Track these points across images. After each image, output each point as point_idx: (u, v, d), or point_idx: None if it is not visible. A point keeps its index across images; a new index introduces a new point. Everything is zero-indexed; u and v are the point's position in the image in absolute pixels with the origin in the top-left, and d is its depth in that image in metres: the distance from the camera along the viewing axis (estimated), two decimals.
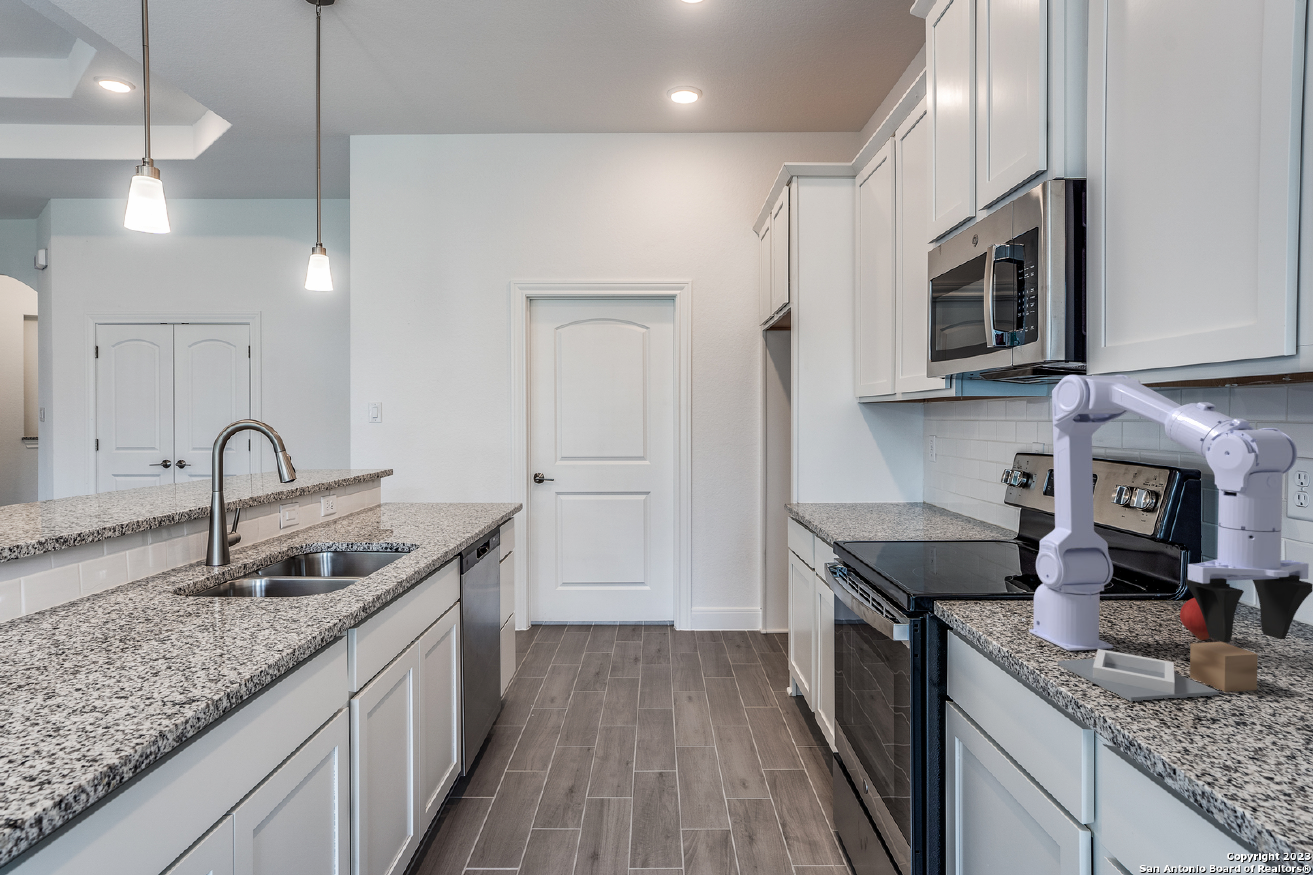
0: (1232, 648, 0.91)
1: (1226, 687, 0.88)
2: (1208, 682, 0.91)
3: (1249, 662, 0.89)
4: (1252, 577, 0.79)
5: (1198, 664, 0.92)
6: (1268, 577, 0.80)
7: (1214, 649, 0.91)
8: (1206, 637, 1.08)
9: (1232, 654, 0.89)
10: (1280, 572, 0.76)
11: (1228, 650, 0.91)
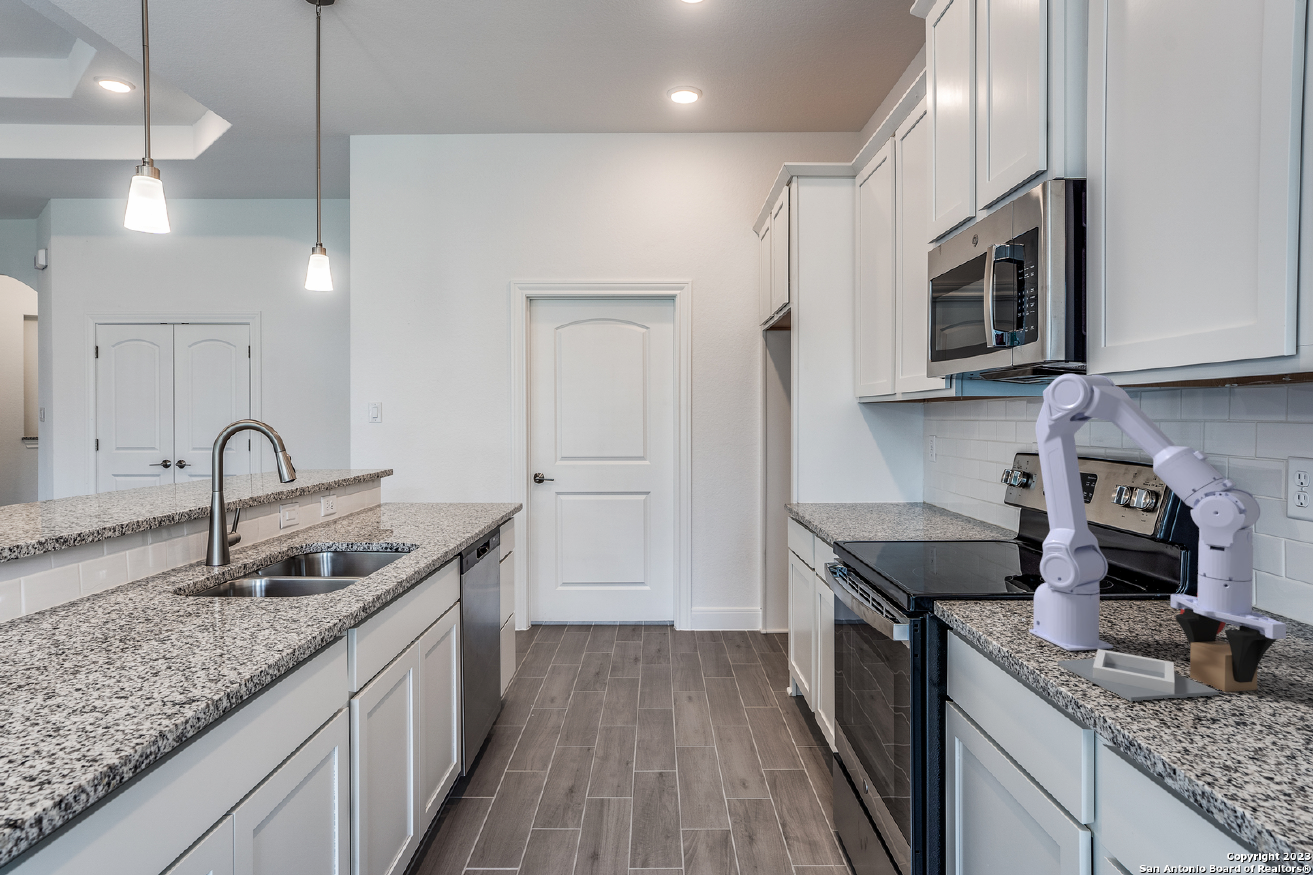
0: None
1: (1226, 686, 0.88)
2: (1208, 681, 0.91)
3: None
4: (1223, 619, 0.91)
5: (1198, 664, 0.92)
6: (1239, 625, 0.88)
7: (1214, 648, 0.91)
8: None
9: None
10: (1196, 609, 0.91)
11: (1228, 649, 0.91)
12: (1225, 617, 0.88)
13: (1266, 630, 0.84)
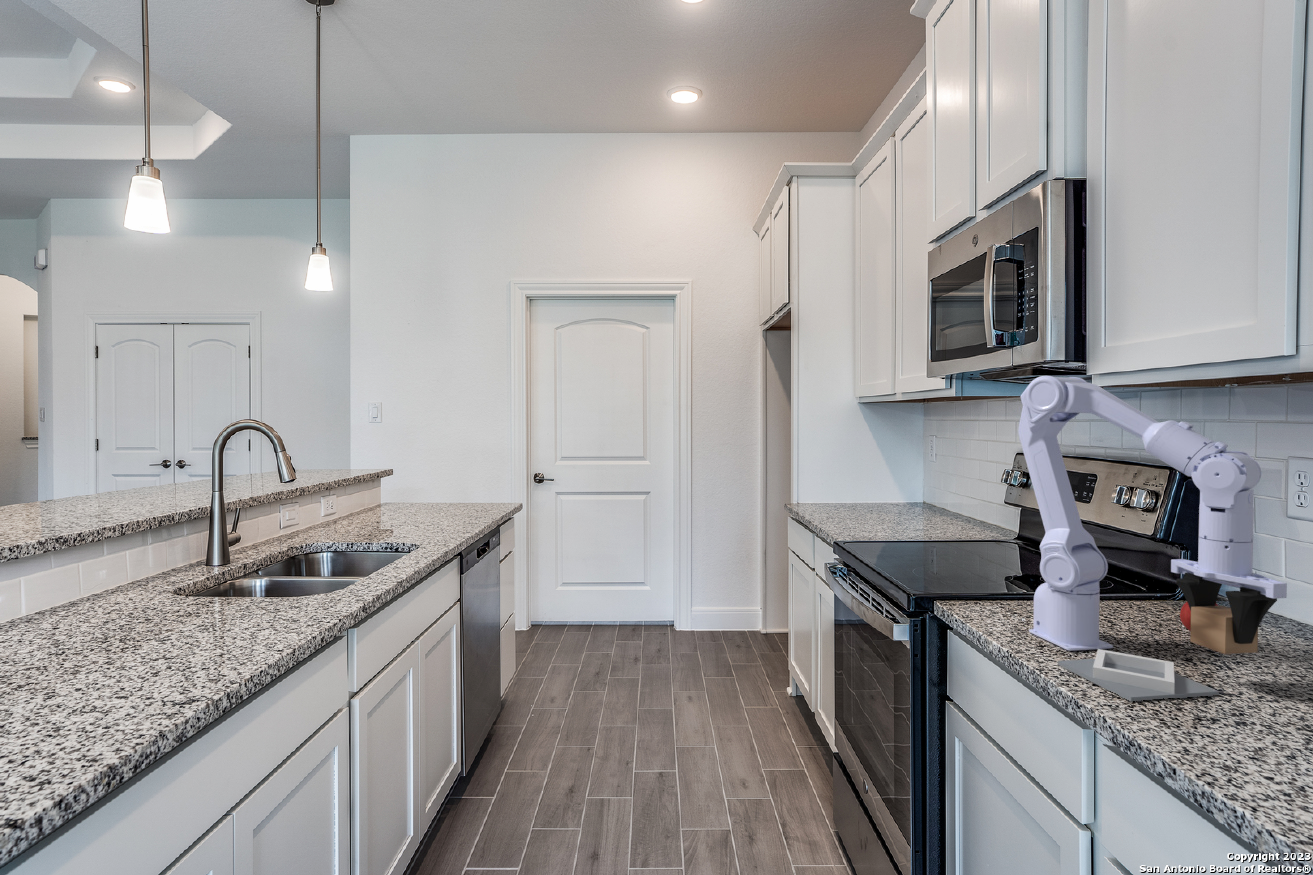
0: None
1: (1227, 649, 0.88)
2: (1209, 644, 0.91)
3: None
4: (1223, 582, 0.91)
5: (1198, 627, 0.92)
6: (1240, 587, 0.88)
7: (1214, 611, 0.91)
8: None
9: None
10: (1196, 571, 0.91)
11: (1228, 612, 0.90)
12: (1226, 578, 0.88)
13: (1267, 590, 0.84)
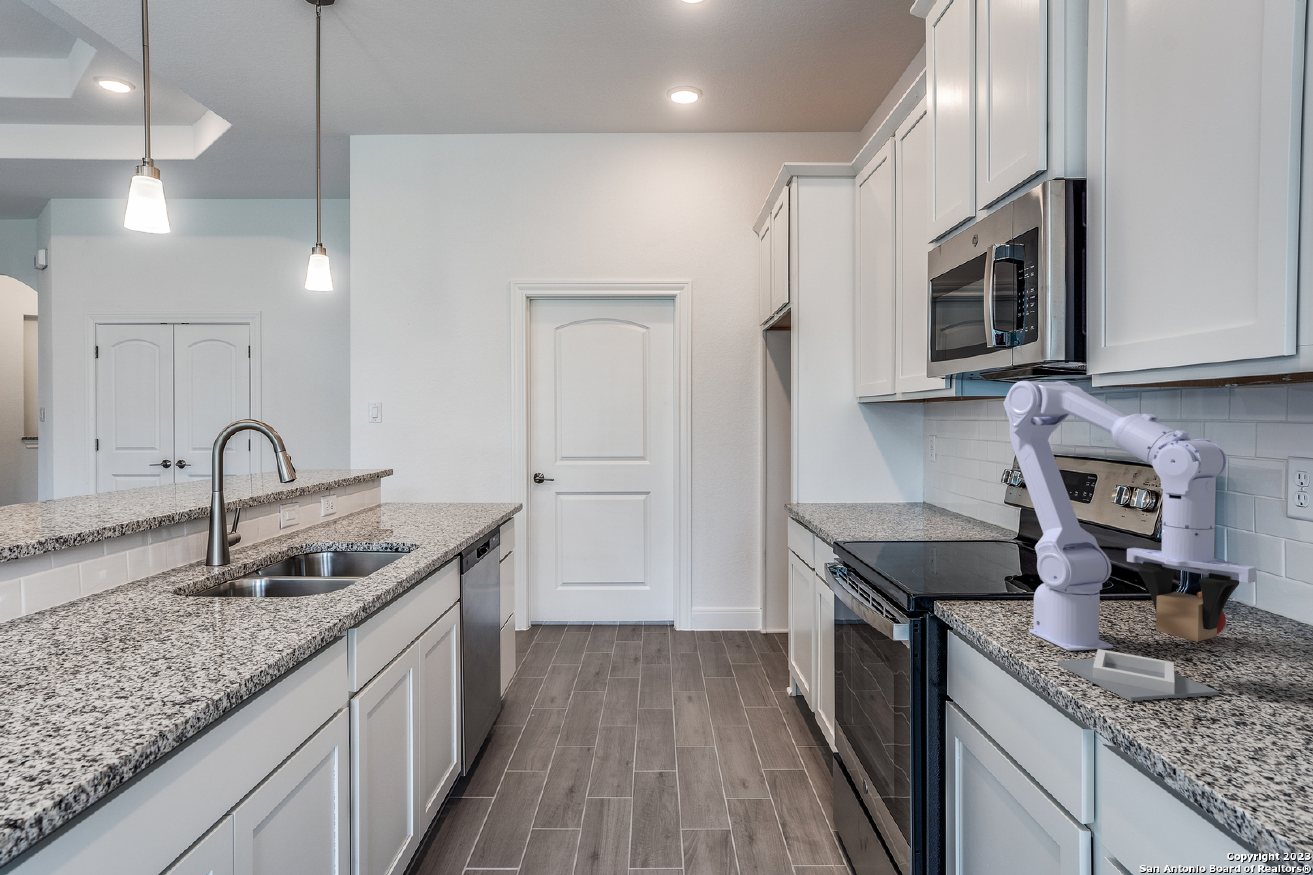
0: (1193, 597, 0.92)
1: (1199, 636, 0.89)
2: (1178, 633, 0.90)
3: None
4: (1187, 569, 0.91)
5: (1165, 616, 0.92)
6: (1206, 573, 0.89)
7: (1181, 599, 0.91)
8: None
9: (1201, 602, 0.89)
10: (1168, 560, 0.90)
11: (1192, 598, 0.91)
12: (1198, 566, 0.88)
13: (1241, 575, 0.85)
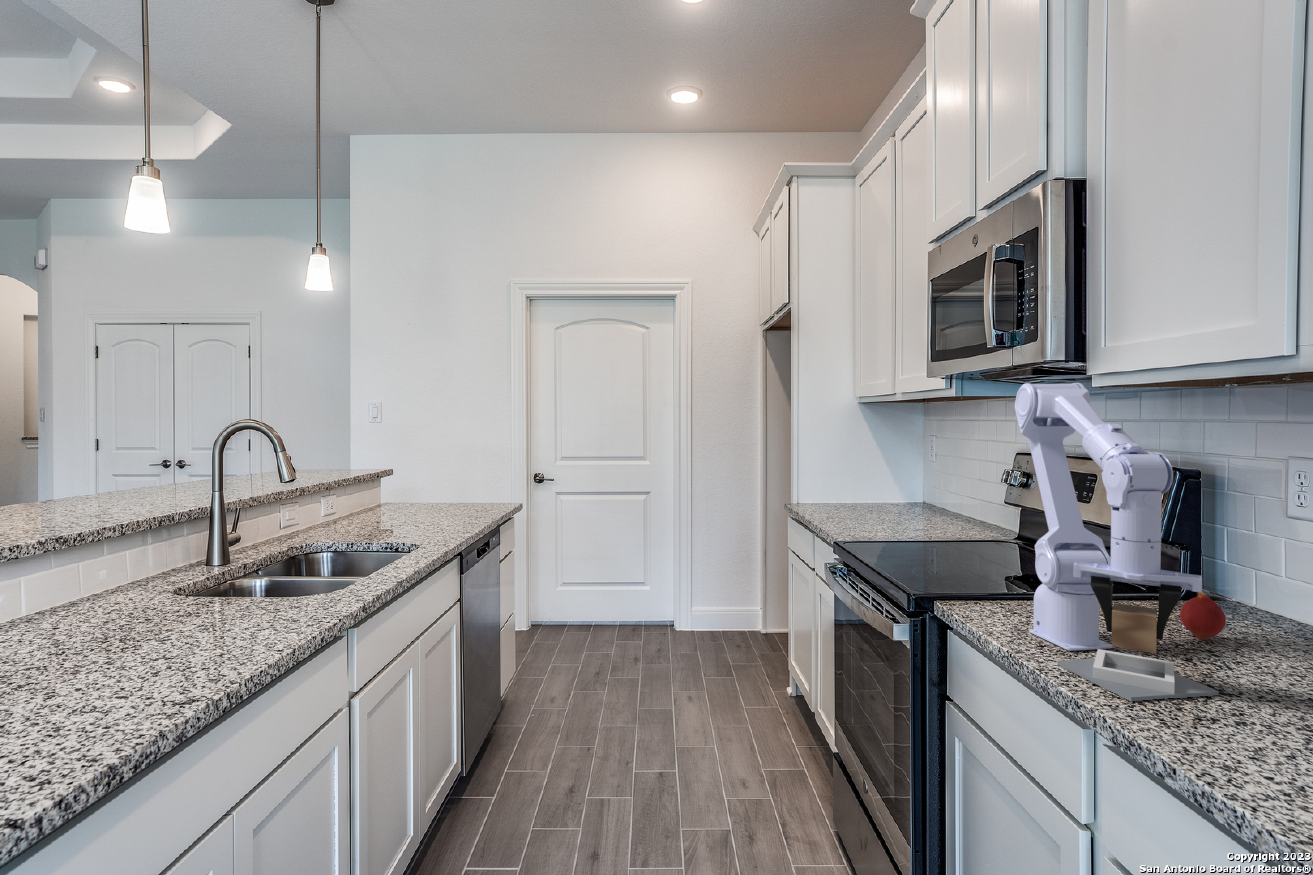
0: (1137, 608, 0.93)
1: None
2: (1135, 646, 0.91)
3: None
4: (1136, 581, 0.92)
5: (1121, 631, 0.91)
6: (1156, 584, 0.91)
7: (1134, 612, 0.91)
8: (1206, 637, 1.08)
9: (1153, 613, 0.91)
10: (1130, 575, 0.89)
11: (1139, 610, 0.92)
12: (1155, 579, 0.89)
13: (1194, 585, 0.88)
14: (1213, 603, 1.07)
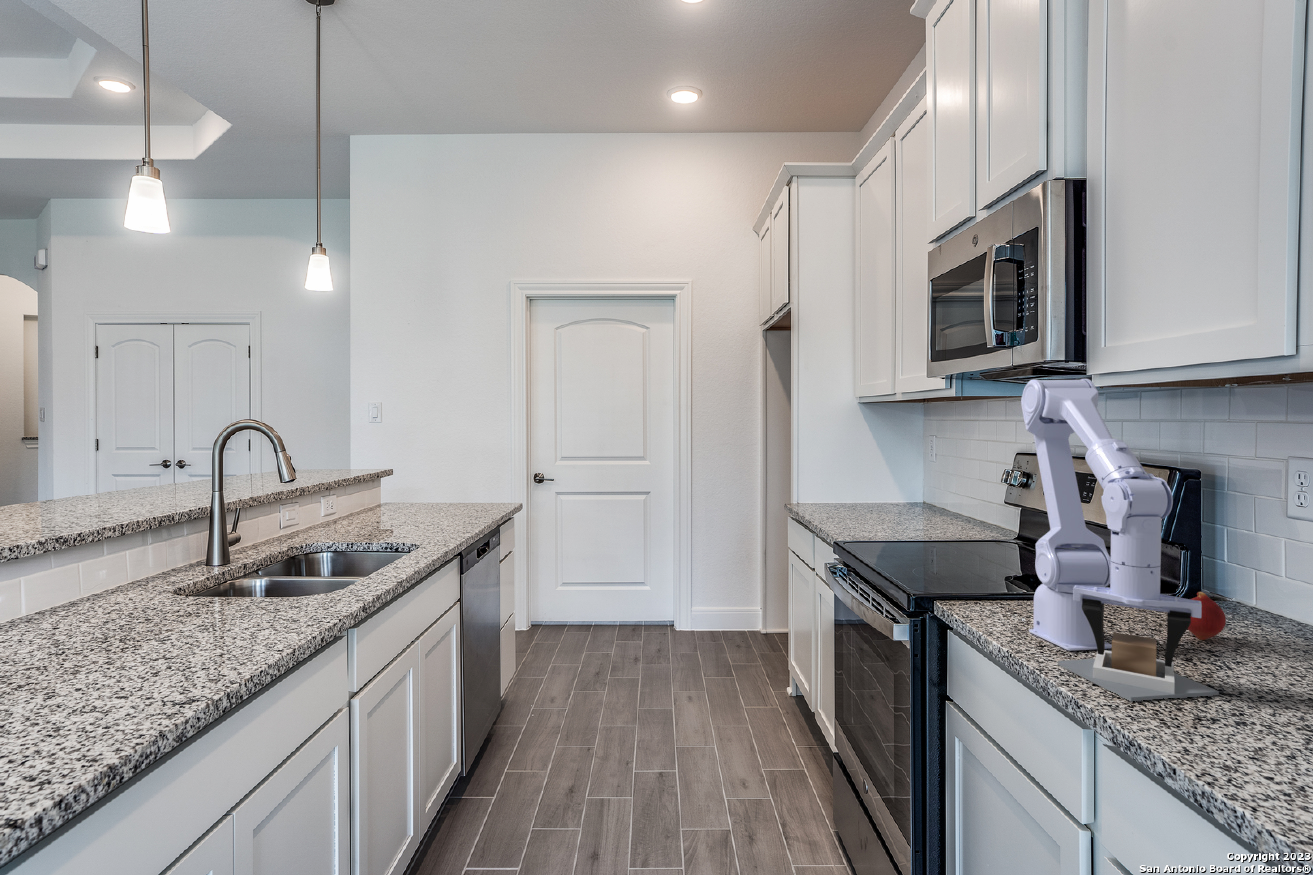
0: (1136, 638, 0.93)
1: None
2: None
3: None
4: (1136, 606, 0.92)
5: (1121, 661, 0.92)
6: (1156, 609, 0.91)
7: (1133, 643, 0.92)
8: (1206, 637, 1.08)
9: (1153, 645, 0.91)
10: (1130, 600, 0.90)
11: (1139, 640, 0.92)
12: (1155, 604, 0.89)
13: (1193, 610, 0.88)
14: (1213, 603, 1.07)
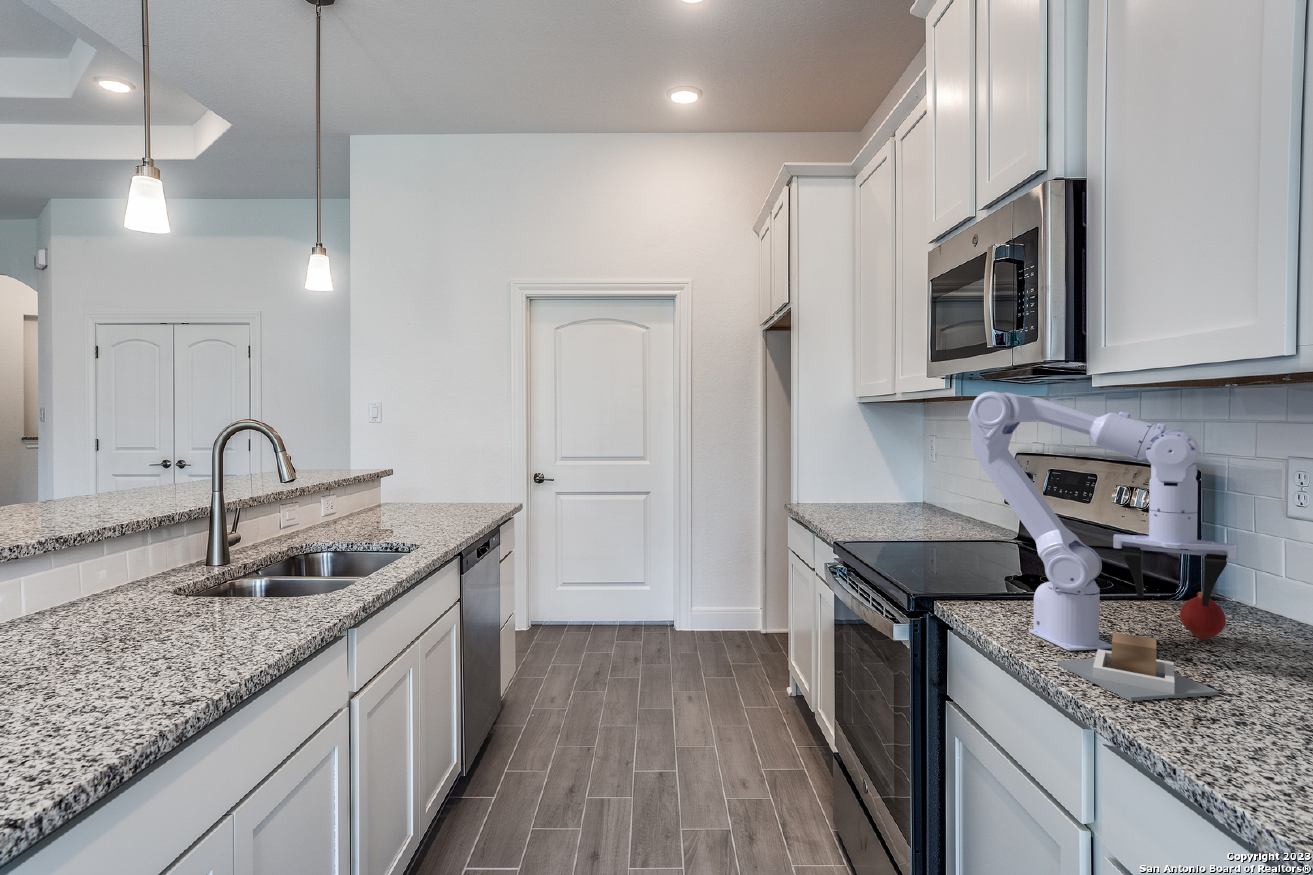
0: (1136, 638, 0.93)
1: None
2: None
3: None
4: (1174, 550, 0.98)
5: (1121, 661, 0.92)
6: (1193, 553, 0.97)
7: (1133, 643, 0.92)
8: (1206, 637, 1.08)
9: (1153, 645, 0.91)
10: (1168, 544, 0.96)
11: (1139, 640, 0.92)
12: (1192, 547, 0.95)
13: (1229, 552, 0.94)
14: (1213, 603, 1.07)
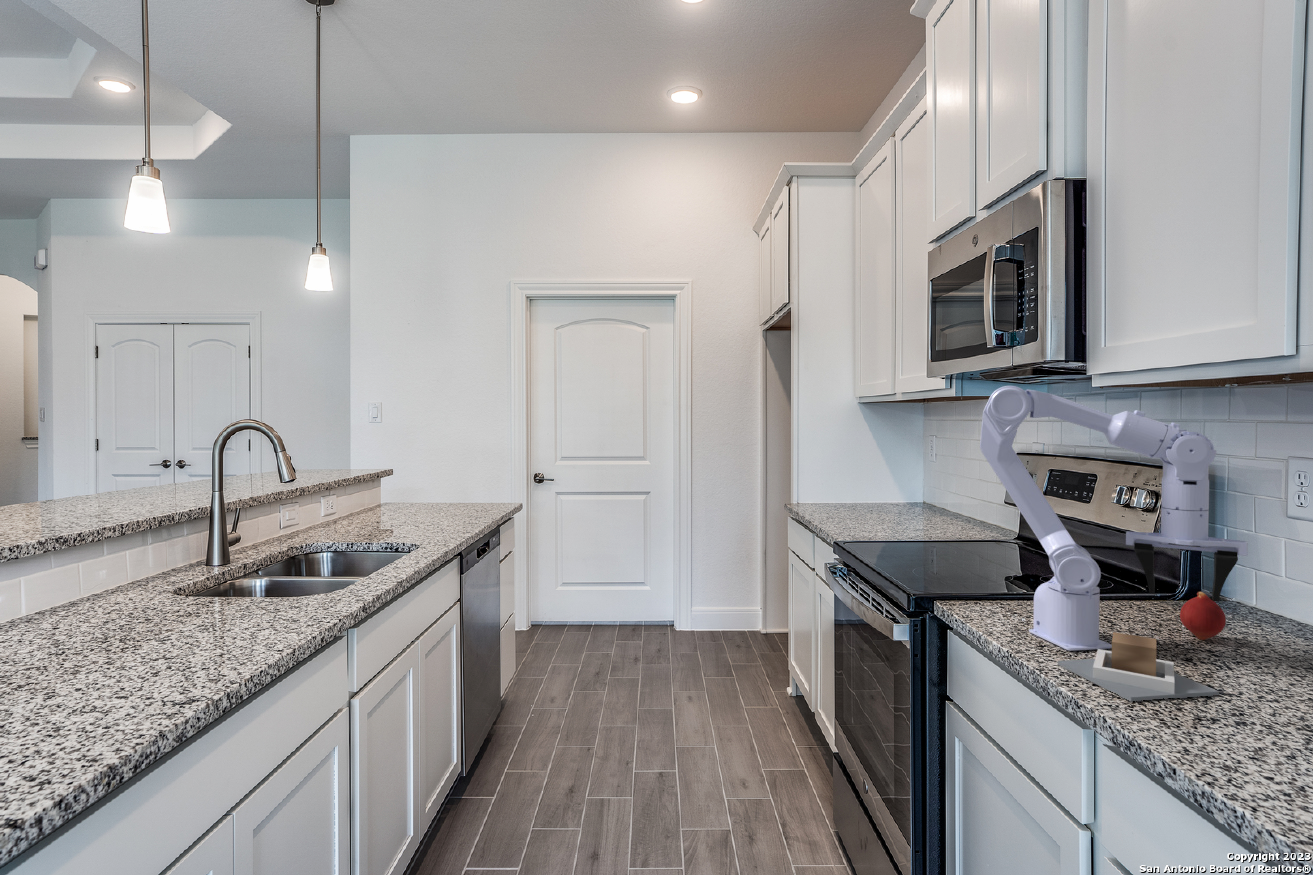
0: (1136, 638, 0.93)
1: None
2: None
3: None
4: (1185, 547, 1.01)
5: (1121, 661, 0.92)
6: (1204, 550, 0.99)
7: (1133, 643, 0.92)
8: (1206, 637, 1.08)
9: (1153, 645, 0.91)
10: (1181, 541, 0.98)
11: (1139, 640, 0.92)
12: (1204, 544, 0.98)
13: (1240, 549, 0.96)
14: (1213, 603, 1.07)
